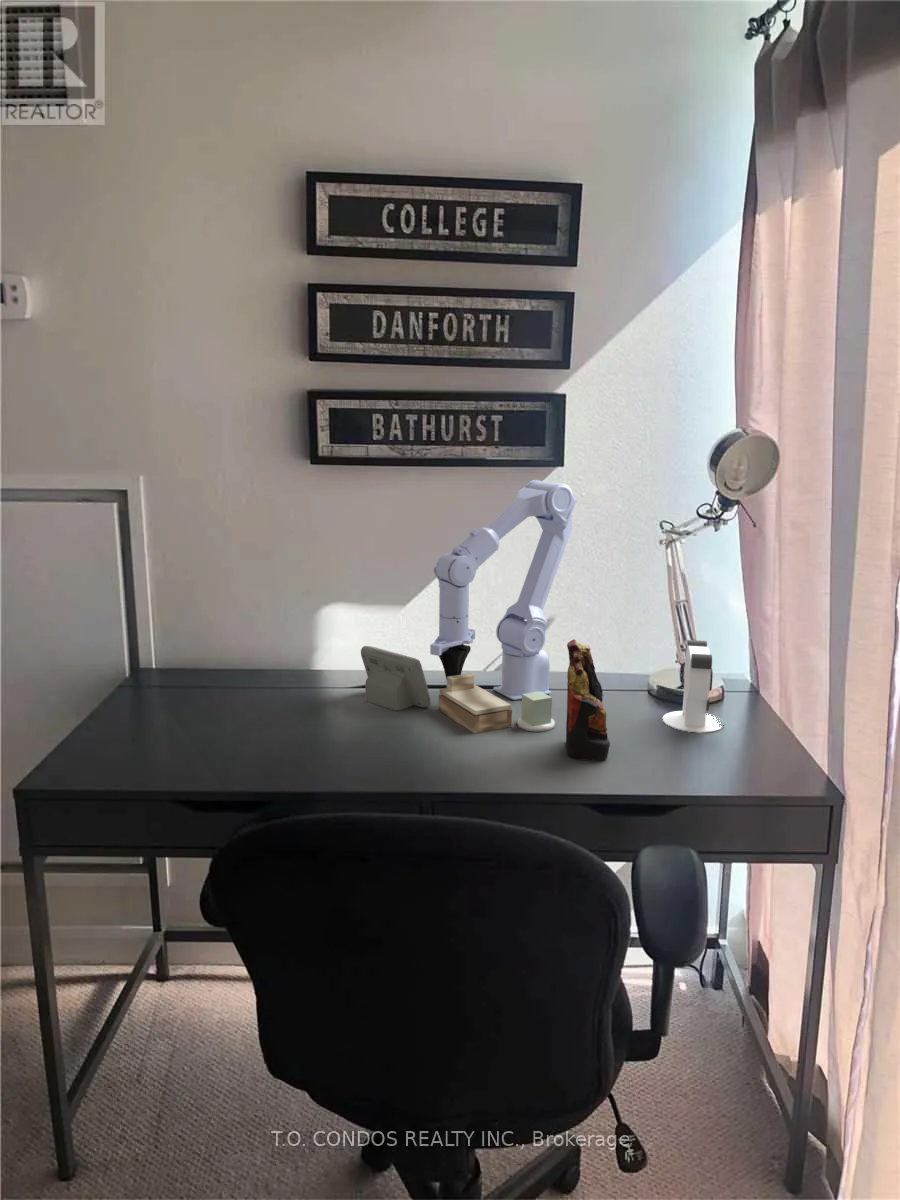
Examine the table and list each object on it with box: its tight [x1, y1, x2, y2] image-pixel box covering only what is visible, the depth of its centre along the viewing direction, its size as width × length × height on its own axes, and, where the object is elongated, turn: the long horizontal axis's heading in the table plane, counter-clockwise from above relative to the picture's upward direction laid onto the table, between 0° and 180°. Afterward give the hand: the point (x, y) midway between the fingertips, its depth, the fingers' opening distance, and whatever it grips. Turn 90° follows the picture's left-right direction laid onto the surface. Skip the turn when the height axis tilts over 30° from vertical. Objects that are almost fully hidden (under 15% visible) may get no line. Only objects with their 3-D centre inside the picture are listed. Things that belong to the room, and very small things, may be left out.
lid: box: [439, 673, 512, 715], centre depth 171 cm, size 8×14×3 cm, turn 29°
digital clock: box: [360, 645, 432, 711], centre depth 180 cm, size 16×9×11 cm, turn 37°
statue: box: [565, 638, 611, 761], centre depth 156 cm, size 12×8×20 cm, turn 169°
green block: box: [520, 691, 553, 726], centre depth 168 cm, size 4×4×5 cm
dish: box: [516, 716, 556, 733], centre depth 169 cm, size 7×7×1 cm
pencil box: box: [438, 693, 513, 734], centre depth 172 cm, size 8×14×3 cm, turn 29°
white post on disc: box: [662, 639, 722, 734], centre depth 169 cm, size 12×11×15 cm
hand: (452, 681), depth 178 cm, fingers closed
